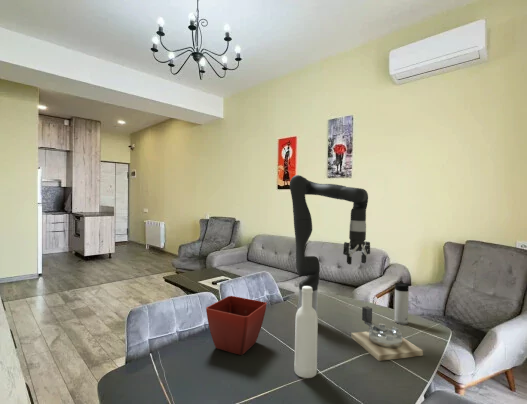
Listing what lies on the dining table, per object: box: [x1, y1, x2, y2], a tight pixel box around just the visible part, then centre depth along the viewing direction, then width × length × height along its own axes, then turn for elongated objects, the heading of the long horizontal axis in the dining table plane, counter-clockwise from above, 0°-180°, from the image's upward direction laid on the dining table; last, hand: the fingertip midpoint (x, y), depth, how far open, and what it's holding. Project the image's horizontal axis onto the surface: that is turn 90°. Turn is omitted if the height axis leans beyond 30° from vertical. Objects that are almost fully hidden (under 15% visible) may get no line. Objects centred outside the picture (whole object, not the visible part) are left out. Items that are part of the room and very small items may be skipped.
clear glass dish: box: [361, 305, 403, 348], centre depth 128 cm, size 19×13×10 cm
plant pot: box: [205, 295, 267, 356], centre depth 123 cm, size 19×19×17 cm
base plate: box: [350, 330, 424, 362], centre depth 125 cm, size 20×20×2 cm
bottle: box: [293, 286, 319, 379], centre depth 105 cm, size 8×8×30 cm
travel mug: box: [394, 282, 410, 326], centre depth 151 cm, size 6×7×20 cm
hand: (356, 263), depth 142 cm, fingers open, 8 cm apart
